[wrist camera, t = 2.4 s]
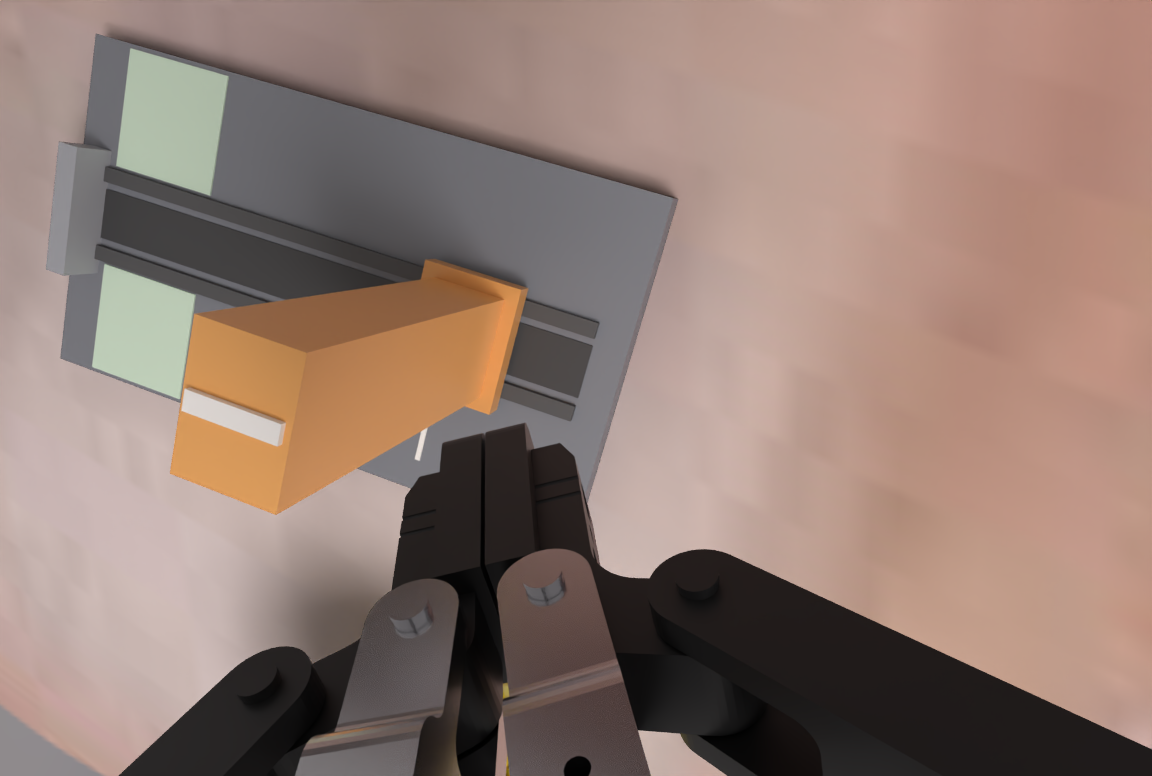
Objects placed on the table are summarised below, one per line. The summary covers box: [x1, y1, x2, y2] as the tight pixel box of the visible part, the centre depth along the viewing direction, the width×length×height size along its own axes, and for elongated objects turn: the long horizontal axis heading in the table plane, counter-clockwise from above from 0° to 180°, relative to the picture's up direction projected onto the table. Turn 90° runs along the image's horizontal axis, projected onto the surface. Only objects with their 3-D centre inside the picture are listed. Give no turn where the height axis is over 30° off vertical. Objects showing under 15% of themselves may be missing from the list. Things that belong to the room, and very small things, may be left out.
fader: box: [170, 259, 528, 515], centre depth 28 cm, size 4×6×16 cm
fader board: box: [46, 34, 678, 502], centre depth 37 cm, size 28×16×4 cm, turn 74°
